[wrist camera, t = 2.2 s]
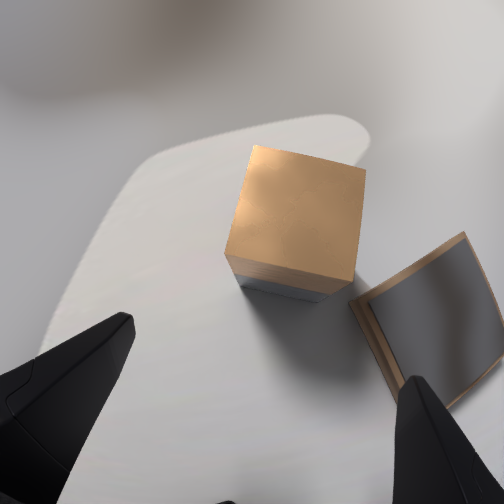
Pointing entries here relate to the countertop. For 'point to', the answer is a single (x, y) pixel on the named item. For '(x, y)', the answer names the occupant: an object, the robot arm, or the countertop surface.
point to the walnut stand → (435, 322)
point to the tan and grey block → (296, 225)
